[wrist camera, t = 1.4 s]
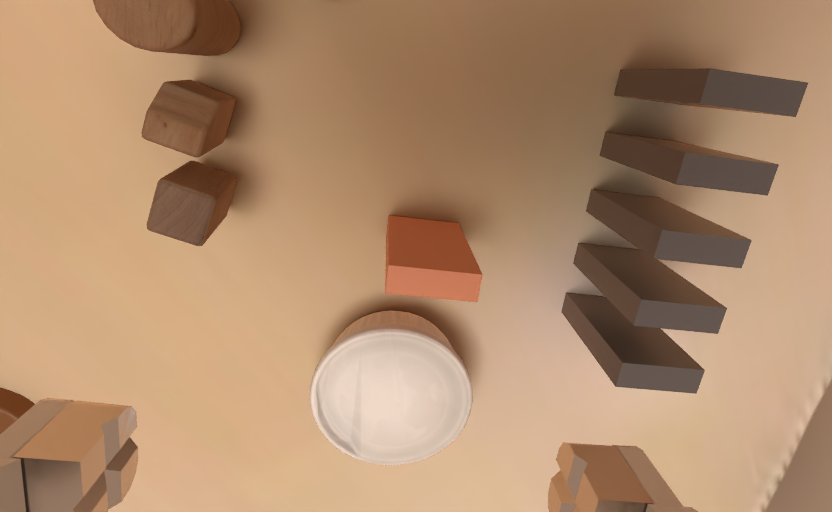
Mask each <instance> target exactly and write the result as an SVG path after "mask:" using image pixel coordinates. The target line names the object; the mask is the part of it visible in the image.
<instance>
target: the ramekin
mask: <svg viewBox="0 0 832 512" xmlns="http://www.w3.org/2000/svg"><path fill="white" fill-rule="evenodd" d="M472 402H473V393H472V386H471V381H470V378H469V374H468V371H467V369H466V367H465V365H464V363H463V361H462V360H461V358H460V357H459V355H458V354H457V353H456V352H455V351H454V350H453V348H452V346H451V345H450V343H449V341H448V339H447V338H446V337H445V335H444V334H443V333H442V332H441V331H440V330H439V329H438V327H436V326H434V325H433V324H432V323H431V322H429V321H428V320H426V319H425V318H423V317H420V316H418V315H415V314H412V313H409V312H403V311H392V310H391V311H381V312H376V313H372V314H370V315H366V316H364V317H362V318H360V319H358V320H357V321H355V322H353V323H352V324H351V325H350V326H349V327H347V328H346V329H345V330H344V331H343V332H342V333H341V334H340V335H339V336H338V338H337V339H336V341H335V342H334V344H333V345H332V346H331V347H330V348H329V349H328V350H327V351H326V352H325V354H324V355H323V356H322V358H321V360H320V361H319V363H318V365H317V367H316V369H315V372H314V375H313V378H312V382H311V387H310V406H311V410H312V414H313V417H314V420H315V422H316V424H317V426H318V428H319V429H320V431H321V432H322V433H323V435H324V436H325V437H326V438H327V439H328V440H329V441H330V442H331V443H332V444H333V445H334V446H335V447H336V448H338V449H339V450H340V451H342V452H344V453H345V454H347V455H349V456H351V457H353V458H356V459H358V460H361V461H364V462H368V463H373V464H379V465H403V464H409V463H414V462H417V461H420V460H423V459H426V458H428V457H430V456H432V455H434V454H436V453H438V452H440V451H441V450H443V449H444V448H446V447H447V446H448V445H449V444H450V443H451V442H453V440H454V439H456V437H457V436H458V435H459V434H460V432H461V431H462V430H463V428H464V427H465V425H466V422H467V420H468V418H469V415H470V412H471V407H472Z"/></svg>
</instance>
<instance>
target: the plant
mask: <svg viewBox="0 0 832 512" xmlns="http://www.w3.org/2000/svg"><path fill="white" fill-rule="evenodd" d="M34 405H35V404H34V403H33V402H32V401H30V400H29V399H27V398H25V397H23V396H22V395H20V394H17V393H15V392H12V391H9V390H6V389H3V388H0V434H1V433H2V432H4V431H5V430H6V429H7V428H8V427H9V426H11V425H12V424H13V423H14V422H15V421H16V420H17V419H19V418H20V417H21V416H22V415H23V414H24V413H26V412H27V411H28V410H29V409H30V408H31V407H33V406H34Z"/></svg>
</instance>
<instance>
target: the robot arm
mask: <svg viewBox="0 0 832 512" xmlns="http://www.w3.org/2000/svg"><path fill="white" fill-rule="evenodd" d="M136 428H137V417H136V410H135V409H134V408H133V407H132V406H123V405H114V404H104V403H94V402H85V401H73V400H63V399H51V398H47V399H43V400H40V401H38V402H37V403H36V404H35V405H34V406H33V407H31V408H30V409H29V410H28V411H27V412H26V413H24V414H23V415H22V416H21V417H20V418H19V419H17V420H16V421H15V422H14V423H13V424H12V425H11V426H9V427H8V428H7V429H6V430H5V431H4V432H2V433H1V434H0V512H108V509H110V508H112V507H113V506H115V505H117V504H118V503H120V502H122V500H123V499H124V497H125V496H126V494H127V492H128V491H129V489H130V487H131V484H132V482H133V479H134V476H135V473H136V469H137V462H138V447H137V446H136V444H135V443H134V442H133V441H132V439H131V438H130V436H131V434H132V433H133V432H134V430H135V429H136ZM556 460H557V463H558V465H559V467H560V469H561V470H560V471H559V472H558V473H557V474H556V475H555V476H554V477H553V478H551V483H550V487H549V492H548V509H549V512H698V511H696V510H695V509H693V508H692V507H683V505H682V504H681V503H680V501H679V500H678V499H677V497H676V496H675V494H674V493H673V492H672V490H671V489H670V487H669V486H668V485H667V483H666V482H665V481H664V479H663V478H662V476H661V475H660V474H659V472H658V471H657V469H656V468H655V467H654V465H653V464H652V463H651V461H650V460H649V458H648V457H647V456H646V454H645V453H644V451H643V450H641V449H640V448H638V447H637V446H618V445H612V446H606V445H592V444H578V443H564V442H563V443H562V445H561V447H560V448H559V451H558V455H557V458H556Z"/></svg>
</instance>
